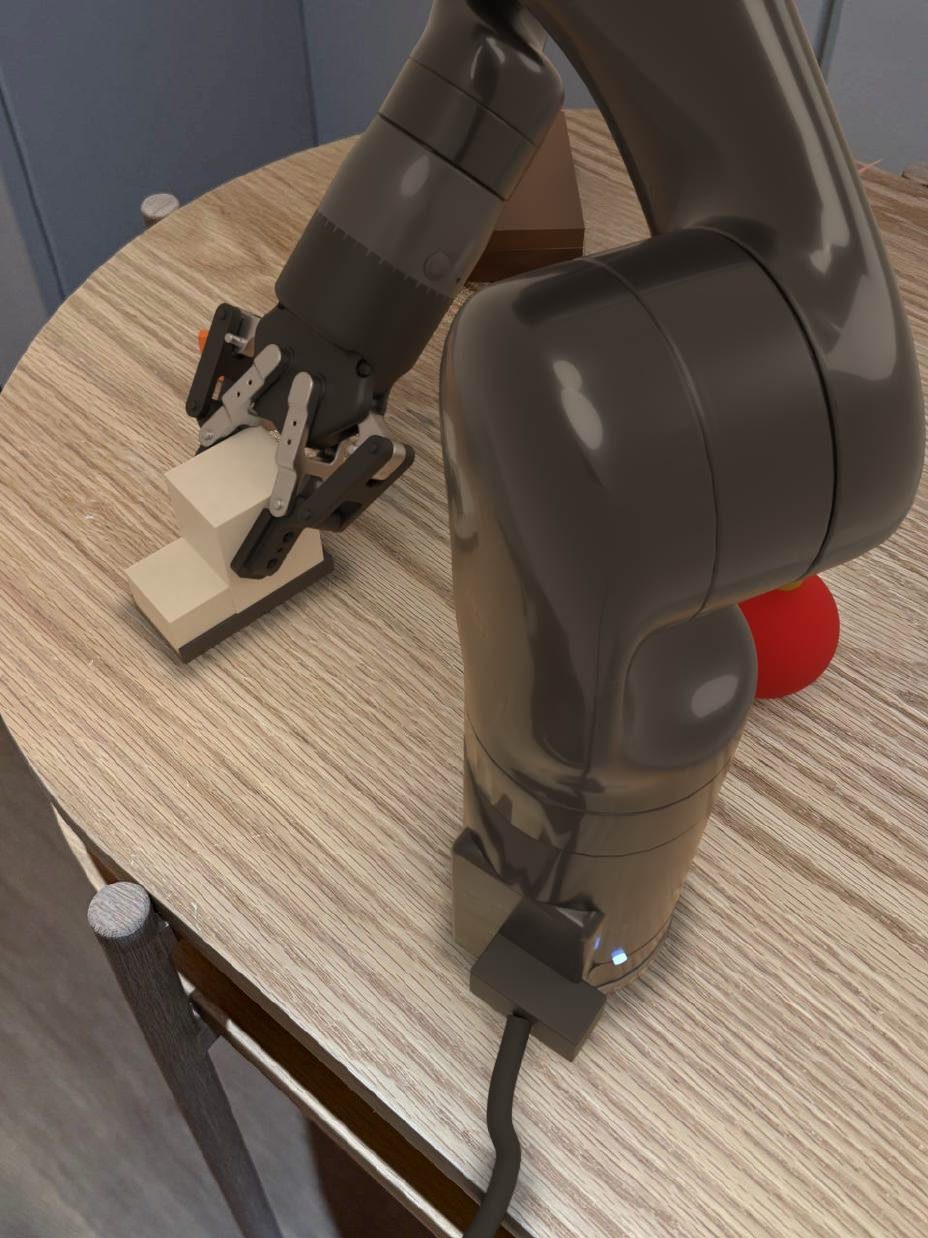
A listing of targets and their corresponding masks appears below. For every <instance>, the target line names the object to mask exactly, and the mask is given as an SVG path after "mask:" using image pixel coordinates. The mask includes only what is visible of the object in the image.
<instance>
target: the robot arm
mask: <svg viewBox="0 0 928 1238" xmlns="http://www.w3.org/2000/svg"><path fill="white" fill-rule="evenodd" d="M548 37H550V38H551V39H552V40H553V42H554V43H555V44H556V46H557V47H558V48H559V49H560V51H562V53H563V55H564V56H565V57H566V59H567V60H568V62H569V63H570V65H571V66H572V68H573V69H574V70H575V72H576V73H577V75H578V76H579V78H580V79H581V81H582V83H583V84H584V85H585V87H586V89H587V91H588V93H589V94H590V96H591V98H592V100H593V102H594V103H595V105H596V107H597V109H598V110H599V112H600V114H601V116H602V118H603V120H604V122H605V124H606V126H607V129H608V131H609V132H610V135H611V137H612V139H613V142H614V143H615V146H616V148H617V151H618V152H619V155H620V157H621V159H622V160H621V161H622V162H623V164H624V167H625V169H626V172H627V174H628V177H629V179H630V182H631V184H632V186H633V189H634V192H635V195H636V198H637V200H638V202H639V205H640V208H641V211H642V213H643V216H644V219H645V222H646V224H647V225H646V226H647V228H648V232H649V235H650V237H648V238H644V239H641V240H637V241H633V242H630V243H626V244H623V245H619V246H615V247H611V248H608V249H604V250H600V251H597V252H594V253H590V254H587V255H582V257H579V258H576V259H573V260H571V261H564V262H561V263H557V264H554V265H550V266H547V267H543V268H540V269H536V270H533V271H529V272H526V273H522V274H519V275H516V276H513V277H509V278H506V279H503V280H500V281H494V282H493V283H490V284H488V285H486V286H484V287H481V288H479V289H477V290H476V291H475V292H473V293H472V294H471V295H469V296H468V297H467V298H466V300H465V301H464V302H462V304H461V305H460V307H459V308H458V310H457V311H456V313H455V315H454V317H453V318H452V320H451V323H450V326H449V328H448V331H447V332H446V333H447V334H446V336H445V339H444V343H443V347H442V352H441V353H442V354H441V358H440V363H439V376H438V377H439V378H438V397H437V398H438V400H437V401H438V402H437V403H438V417H439V418H438V420H439V435H440V437H439V438H440V447H441V456H442V465H443V474H444V483H445V484H444V485H445V492H446V501H447V512H448V524H449V539H450V552H451V554H450V556H451V579H452V580H451V581H452V593H453V602H454V612H455V621H456V626H457V631H458V633H457V634H458V638H459V645H460V651H461V659H462V662H463V663H462V665H463V764H462V765H463V773H462V774H463V779H462V780H463V781H462V782H463V784H462V785H463V789H462V791H463V792H462V795H463V803H462V804H463V805H462V807H463V808H462V812H463V813H462V820H463V821H462V822H463V823H462V825H463V827H462V830H461V832H460V833H459V834H458V836H457V837H456V838H455V839H454V840H453V842H452V844H451V847H450V862H451V863H450V868H451V869H450V870H451V925H452V926H451V927H452V929H451V930H452V932H451V933H452V940H453V941H454V942H455V944H458V945H459V946H460V947H462V948H463V949H464V950H466V951H467V952H469V953H470V954H472V955H474V956H475V957H476V958H478V959H477V960H476V961H475V962H474V964H473V965H472V966H471V968H470V969H469V988H468V989H469V992H470V993H472V994H473V995H474V996H475V997H476V998H478V999H480V1000H481V1001H483V1002H484V1003H485V1004H487V1005H488V1006H490V1007H491V1008H492V1009H494V1010H495V1011H497V1012H498V1013H499V1014H501V1015H502V1016H504V1017H505V1018H506V1022H505V1025H504V1031H503V1034H502V1037H501V1041H500V1044H499V1048H498V1050H497V1054H496V1058H495V1061H494V1065H493V1068H492V1073H491V1077H490V1082H489V1087H488V1093H487V1100H486V1101H487V1103H486V1115H485V1116H486V1127H487V1132H488V1135H489V1138H490V1140H491V1143H492V1145H493V1148H494V1152H495V1160H494V1161H495V1162H494V1165H493V1169H492V1173H491V1177H490V1181H489V1183H488V1186H487V1189H486V1192H485V1194H484V1197H483V1199H482V1201H481V1204H480V1205H479V1208H478V1210H477V1211H476V1214H475V1215H474V1217H473V1218H472V1220H471V1222H470V1224H469V1226H468V1227H467V1228H466V1230H465V1231H464V1233H463V1234H462V1236H461V1238H494V1237H495V1235H496V1233H497V1232H498V1230H499V1228H500V1226H501V1225H502V1222H503V1220H504V1218H505V1215H506V1213H507V1211H508V1209H509V1207H510V1203H511V1200H512V1197H513V1195H514V1192H515V1190H516V1189H515V1188H516V1186H517V1181H518V1177H519V1173H520V1169H521V1164H522V1148H521V1142H520V1140H519V1137H518V1134H517V1132H516V1130H515V1129H516V1128H515V1126H514V1122H513V1105H514V1098H515V1097H514V1096H515V1091H516V1086H517V1082H518V1077H519V1073H520V1069H521V1067H522V1062H523V1060H524V1059H523V1058H524V1055H525V1052H526V1048H527V1044H528V1041H529V1038H530V1035H531V1036H532V1037H534V1038H535V1039H536V1040H538V1041H539V1042H541V1043H542V1044H544V1045H545V1046H546V1047H548V1048H549V1049H550V1050H552V1051H553V1052H555V1053H556V1054H558V1055H559V1056H561V1057H562V1058H563V1059H565V1060H566V1061H568V1062H569V1063H573V1062H574V1061H575V1060H576V1058H577V1056H578V1055H579V1053H580V1051H581V1050H582V1048H583V1047H584V1045H585V1044H586V1043H587V1041H588V1040H589V1037H590V1035H591V1034H592V1033H593V1031H594V1029H595V1028H596V1026H597V1024H598V1023H599V1021H600V1020H601V1019H602V1016H603V1013H604V1010H605V1007H606V1004H607V1000H608V995H610V994H613V993H615V992H617V991H620V990H621V989H623V988H625V987H627V986H628V985H630V984H631V983H632V982H634V981H635V980H637V979H638V978H639V977H641V976H642V975H643V974H644V973H645V972H646V971H647V970H648V969H649V968H650V966H651V965H652V964H653V963H654V961H655V960H656V959H657V957H658V955H659V954H660V953H661V950H662V948H663V946H664V945H665V941H666V939H667V937H668V933H669V932H670V929H671V927H672V926H671V925H672V924H673V923H672V922H673V918H674V913H675V909H676V907H677V904H678V902H679V899H680V895H681V893H682V890H683V887H684V885H685V883H686V881H687V877H688V874H689V872H690V869H691V867H692V864H693V861H694V859H695V857H696V854H697V851H698V848H699V846H700V843H701V841H702V838H703V836H704V833H705V831H706V828H707V826H708V822H709V820H710V817H711V815H712V812H713V810H714V807H715V804H716V801H717V800H718V797H719V794H720V791H721V788H722V786H723V784H724V782H725V779H726V777H727V775H728V772H729V769H730V767H731V764H732V761H733V759H734V756H735V753H736V751H737V749H738V746H739V744H740V741H741V739H742V735H743V734H744V730H745V728H746V726H747V722H748V720H749V717H750V714H751V712H752V708H753V705H754V702H755V698H754V697H755V693H756V687H757V678H758V661H757V654H756V647H755V643H754V639H753V635H752V633H751V630H750V627H749V625H748V622H747V620H746V618H745V616H744V614H743V612H742V611H741V609H740V608H739V606H738V605H737V604H738V603H741V602H743V601H746V600H749V599H751V598H754V597H757V596H759V595H762V594H765V593H767V592H770V591H773V590H776V589H778V588H781V587H783V586H785V585H788V584H790V583H794V582H797V581H799V580H803V579H806V578H808V577H811V576H813V575H816V574H817V575H818V574H821V573H824V572H826V571H829V570H831V569H834V568H836V567H839V566H841V565H843V564H846V563H848V562H850V561H853V560H855V559H858V558H859V557H861V556H863V555H865V554H867V553H869V552H870V551H872V550H874V549H876V548H878V547H879V546H881V545H882V544H884V543H886V541H888V540H889V539H890V538H891V537H892V536H893V535H894V534H895V533H896V532H897V531H898V530H899V528H900V527H901V525H902V524H903V522H904V521H905V520H906V517H907V515H908V514H909V513H910V511H911V509H912V507H913V506H914V503H915V500H916V497H917V494H918V491H919V488H920V487H919V486H920V482H921V479H922V474H923V471H924V467H925V466H924V465H925V457H926V444H927V432H926V431H927V429H926V428H927V427H926V409H925V407H926V406H925V396H924V390H923V384H922V378H921V372H920V367H919V362H918V361H919V360H918V357H917V350H916V346H915V340H914V335H913V331H912V328H911V324H910V320H909V316H908V312H907V309H906V308H907V307H906V305H905V301H904V298H903V295H902V292H901V289H900V285H899V282H898V279H897V276H896V273H895V269H894V266H893V263H892V260H891V257H890V255H889V252H888V249H887V246H886V244H885V241H884V238H883V236H882V233H881V230H880V227H879V225H878V221H877V218H876V215H875V213H874V210H873V208H872V204H871V202H870V199H869V196H868V193H867V191H866V188H865V186H864V183H863V180H862V178H861V177H862V176H861V174H859V172H858V170H859V169H858V167H857V164H856V161H855V158H854V155H853V153H852V151H851V148H850V146H849V143H848V139H847V138H846V134H845V132H844V130H843V126H842V124H841V120H840V119H839V116H838V113H837V111H836V108H835V105H834V102H833V99H832V98H831V94H830V92H829V90H828V86H827V84H826V81H825V78H824V76H823V73H822V70H821V68H820V65H819V63H818V59H817V58H816V55H815V52H814V50H813V47H812V44H811V41H810V38H809V36H808V34H807V31H806V28H805V25H804V23H803V20H802V17H801V14H800V12H799V9H798V7H797V4H796V1H795V0H433V2H432V5H431V9H430V13H429V16H428V20H427V23H426V26H425V28H424V30H423V32H422V34H421V36H420V37H419V39H418V40H417V42H416V43H415V45H414V46H413V49H412V50H411V52H410V54H409V55H408V59H406V61H405V63H404V64H403V67H402V68H401V70H400V72H399V73H398V75H397V77H396V79H395V81H394V82H393V84H392V86H391V88H390V89H389V91H388V93H387V95H386V97H385V98H384V101H383V102H382V104H381V106H380V108H379V109H378V111H377V113H378V114H377V115H375V116H374V117H373V119H372V120H371V122H370V124H369V125H368V126H367V128H366V129H365V130H364V132H363V133H362V135H361V136H360V137H359V138H358V140H357V141H356V142H355V144H354V145H353V146H352V148H351V149H350V151H349V152H348V153H347V154H346V156H345V157H344V160H343V161H342V162H341V164H340V166H339V168H338V169H337V170H336V171H337V172H336V173H335V175H334V177H333V179H331V180H332V181H331V182H330V184H329V186H328V187H327V190H326V191H325V193H324V195H323V197H322V199H321V200H320V202H319V204H318V206H317V207H316V209H315V210H314V213H313V214H312V216H311V218H310V220H309V222H308V223H307V224H306V226H305V228H304V230H303V232H302V233H301V236H300V238H299V239H298V241H297V243H296V245H295V247H294V248H293V250H292V252H291V254H290V256H289V257H288V259H287V261H286V263H285V264H284V266H283V268H282V270H281V272H280V274H279V275H278V277H277V279H276V280H275V283H274V294H275V296H276V298H277V300H278V302H277V303H276V305H274V307H272V309H271V310H269V311H267V312H266V313H265V314H263V316H260V315H257V314H256V313H253V312H252V311H249V310H247V309H245V308H242V307H240V306H235V305H232V304H230V303H227V302H222V303H220V304H219V305H218V306H217V308H215V312H214V315H213V317H212V321H211V323H210V325H209V326H210V327H209V329H208V330H209V333H208V336H207V339H206V342H205V345H204V348H203V351H202V353H200V358H199V361H198V364H197V368H196V370H195V374H194V377H193V379H192V383H191V386H190V388H189V391H188V394H187V398H186V401H185V406H184V409H185V413H186V415H187V416H188V417H189V418H193V419H195V420H196V422H197V424H198V427H199V431H198V441H199V443H200V445H199V447H198V448H197V450H196V452H195V454H194V456H193V457H195V456H197V455H198V454H200V453H202V452H204V451H206V450H208V449H209V448H211V447H213V446H215V445H217V444H218V443H220V442H222V441H224V440H226V439H228V438H229V437H231V436H233V435H235V434H237V433H239V432H240V431H242V430H244V429H246V428H248V427H249V426H253V427H259V426H262V427H263V428H264V429H266V430H267V431H268V432H269V433H270V432H275V431H277V433H278V434H279V436H280V437H279V440H278V442H279V444H278V447H277V451H276V454H275V462H276V464H277V465H278V473H277V476H276V480H275V483H274V486H273V490H272V493H271V497H270V500H269V509H267V508H263V510H262V511H261V513H260V515H259V516H258V518H257V520H256V521H255V523H254V525H253V526H252V528H251V530H250V531H249V533H248V535H247V536H246V538H245V540H244V541H243V543H242V545H241V546H240V548H239V550H238V551H237V553H236V555H235V556H234V558H233V560H232V562H231V564H230V567H231V569H232V570H233V571H234V572H235V573H236V574H237V575H238V576H239V577H240V578H248V579H256V580H261V579H263V578H265V577H266V576H272V575H273V574H274V573H276V572H277V571H278V570H279V568H280V567H281V565H282V563H283V561H284V560H285V559H286V557H287V554H289V552H290V550H291V549H292V547H293V546H294V544H295V542H296V541H297V539H298V537H299V536H300V534H301V532H302V531H303V530H304V529H305V528H312V529H317V530H319V531H322V532H323V531H324V532H329V533H334V534H341V533H343V532H345V531H346V530H347V529H348V528H349V527H350V526H351V525H352V524H353V523H354V522H355V521H356V520H357V519H358V518H359V517H360V516H361V515H362V514H363V513H365V511H366V510H367V509H368V508H369V507H370V506H371V505H372V504H373V503H375V501H377V500H378V499H379V498H380V497H381V496H382V495H383V494H384V493H385V492H386V491H387V490H389V488H390V487H391V486H392V485H394V483H396V481H398V479H399V478H401V477H402V476H403V475H404V473H406V471H408V470H409V469H410V468H411V467H412V465H413V464H414V462H415V460H416V451H415V449H414V448H413V446H411V445H410V444H408V443H405V442H402V441H399V440H398V439H397V437H396V436H395V435H394V433H393V431H392V430H391V428H390V426H389V425H388V423H387V422H386V420H385V418H384V416H385V414H386V411H387V407H388V401H389V396H390V392H391V390H392V387H393V386H394V384H395V383H396V382H397V381H398V380H399V379H401V378H402V377H403V376H404V375H406V374H408V373H409V372H410V371H412V369H413V368H414V367H415V364H416V363H417V362H418V360H419V358H420V357H421V355H422V353H423V352H424V350H425V348H426V346H428V343H429V342H430V340H431V338H432V337H433V335H434V334H435V332H436V330H437V329H438V327H439V326H440V324H441V322H442V321H443V319H444V317H445V316H446V314H447V312H448V311H449V310H450V308H451V306H452V305H453V303H454V301H455V300H456V298H457V296H458V295H459V293H460V291H461V290H462V288H463V286H464V285H465V283H467V282H466V280H467V278H468V277H469V275H470V274H471V272H472V270H473V269H474V267H475V265H476V264H477V262H478V260H479V259H480V257H481V255H482V254H483V252H484V250H485V248H486V246H487V244H488V242H489V240H490V238H491V235H492V233H493V231H494V228H495V226H496V224H497V222H498V220H499V218H500V215H501V214H502V212H503V210H504V208H505V206H506V203H505V202H504V201H509V200H510V198H511V197H512V195H513V193H514V192H515V190H516V188H517V187H518V185H519V184H520V182H521V180H522V179H523V177H524V175H525V174H526V172H527V171H528V169H529V167H530V166H531V164H532V162H533V161H534V159H535V158H536V156H537V154H538V153H539V151H538V150H540V149H541V148H542V146H543V144H544V142H545V141H546V139H547V137H548V136H549V134H550V132H551V130H552V128H553V127H554V125H555V123H556V121H557V119H558V117H559V115H560V113H561V111H563V107H564V105H565V104H564V103H565V100H566V91H565V88H566V87H565V84H564V81H563V79H562V76H561V74H560V72H559V70H558V69H557V68H556V67H555V65H554V63H553V62H552V61H551V60H550V58H549V57H548V56H547V55H546V54H545V53H544V51H545V47H546V44H547V41H548ZM252 365H253V366H252ZM221 376H223V378H224V379H223V380H222V383H221V386H220V389H219V392H218V394H217V395H218V396H217V398H216V399H215V398H214V393H215V390H216V388H217V386H218V385H217V384H218V381H219V380H218V379H219V378H220V377H221ZM357 435H358V436H357ZM355 436H357V439H356V441H355V442H354V443H351V444H350V445H348V444H349V440H350V439H351V438H353V437H355ZM306 449H309V450H313V451H317V453H316V454H315V455H314V456H308V455H306V453H305V450H306ZM346 451H347V453H348V455H349V456H348V457H347V458H346V459H345V460H344V457H345V454H346ZM306 474H310V479H309V480H308V482H307V484H306V485H305V487H304V489H303V490H302V492H301V494H300V495H299V496H297V495H298V491H299V488H300V485H301V481H302V478H303V477H304V475H306Z"/></svg>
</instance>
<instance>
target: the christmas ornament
mask: <svg viewBox="0 0 928 1238" xmlns="http://www.w3.org/2000/svg"><path fill="white" fill-rule="evenodd" d="M737 605H738V606H739V608H740V609H741V611H742V612H743V614H744V616H745V618H746V620H747V622H748V625H749V627H750V630H751V633H752V635H753V639H754V643H755V647H756V654H757V661H758V678H757V687H756V693H755V697H754V700H774V699H781V698H784V697H787V696H788V697H789V696H792V695H794V694H796V693H799V692H800V691H802V690H804V689H806V688H807V687H809V686H810V685H812V684H813V683H814V682H816V681H817V680H818V679H819V678H820V677H821V675H823V674H824V672H825V671H827V668H828V666H829V665H830V664H831V662H832V660H833V658H834V656H835V654H836V651H837V648H838V646H839V640H840V633H841V621H840V614H839V609H838V605H837V603H836V600H835V598H834V595H833V594H832V592H831V590H830V588H829V587H828V585H827V584H826V583H825V581H824V580H823V579H822V578H821V577H820V576H819V575H818V574H816V575H813V576H811V577H808V578H806V579H803V580H799V581H797V582H794V583H790V584H788V585H785V586H783V587H781V588H778V589H776V590H773V591H770V592H767V593H765V594H762V595H759V596H757V597H754V598H751V599H749V600H746V601H743V602H741V603H738V604H737Z"/></svg>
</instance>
